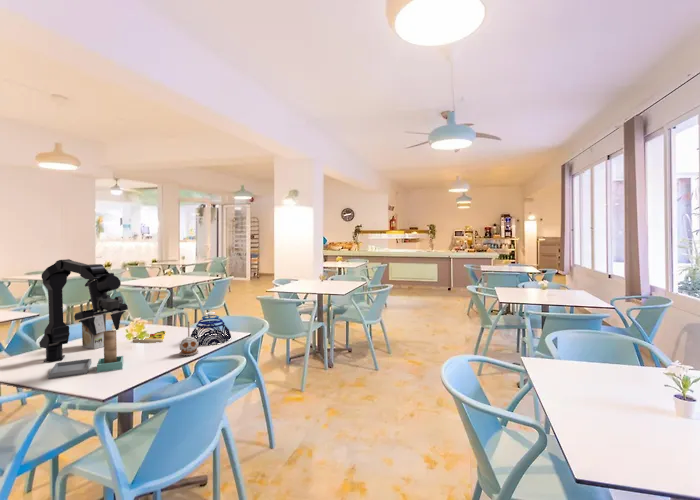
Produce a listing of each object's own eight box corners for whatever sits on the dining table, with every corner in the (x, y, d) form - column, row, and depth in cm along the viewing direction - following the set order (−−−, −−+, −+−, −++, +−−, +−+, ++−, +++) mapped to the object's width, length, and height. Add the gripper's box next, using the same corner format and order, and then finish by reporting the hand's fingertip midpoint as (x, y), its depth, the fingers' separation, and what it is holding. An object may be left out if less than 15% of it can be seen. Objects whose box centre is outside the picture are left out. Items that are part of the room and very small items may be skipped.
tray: (56, 367, 157) (56, 362, 157) (91, 363, 163) (91, 358, 163) (48, 379, 145) (48, 373, 145) (86, 373, 150) (86, 368, 150)
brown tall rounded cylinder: (104, 366, 159) (104, 330, 158) (117, 365, 161) (116, 329, 160) (103, 370, 155) (103, 333, 154) (116, 368, 157) (115, 332, 156)
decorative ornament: (180, 357, 171) (179, 324, 170) (179, 352, 177) (178, 320, 177) (199, 355, 174) (198, 322, 174) (197, 350, 181) (196, 319, 180)
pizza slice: (130, 344, 193) (130, 338, 193) (152, 333, 214) (152, 328, 214) (160, 344, 193) (160, 338, 193) (179, 333, 214) (179, 328, 214)
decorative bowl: (192, 348, 185) (192, 318, 184) (187, 338, 202) (187, 311, 202) (234, 342, 195) (234, 314, 194) (226, 333, 212) (226, 308, 212)
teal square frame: (99, 365, 159) (99, 358, 159) (123, 362, 163) (123, 355, 163) (97, 372, 152) (96, 365, 152) (122, 369, 156) (121, 361, 156)
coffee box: (107, 345, 188) (106, 313, 187) (94, 349, 182) (93, 316, 181) (94, 343, 191) (93, 312, 190) (81, 347, 185) (80, 314, 185)
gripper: (88, 293, 143) (96, 334, 142) (132, 287, 161) (140, 323, 160) (69, 299, 147) (77, 339, 146) (115, 293, 165) (122, 328, 164)
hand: (106, 332), depth 154 cm, fingers open, 9 cm apart
